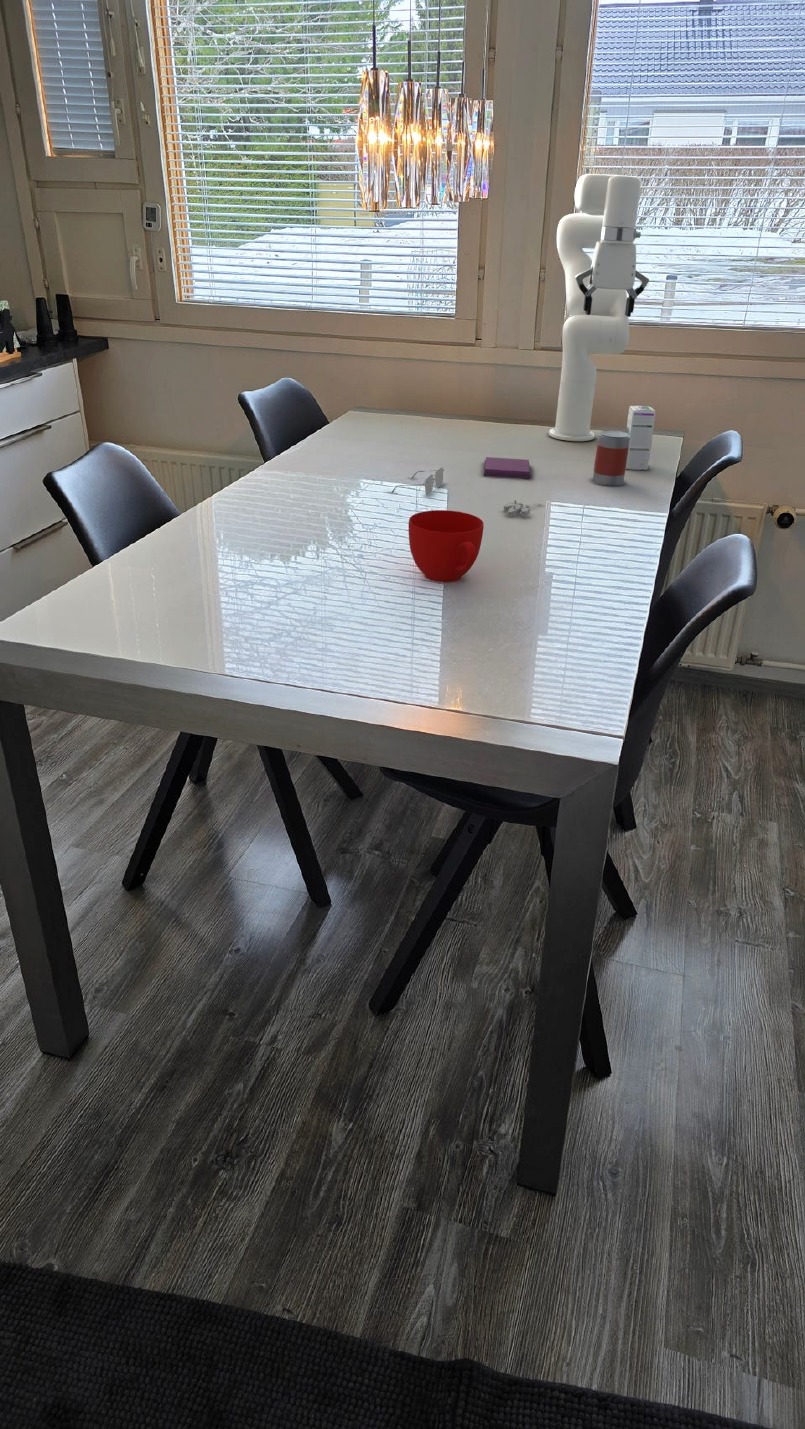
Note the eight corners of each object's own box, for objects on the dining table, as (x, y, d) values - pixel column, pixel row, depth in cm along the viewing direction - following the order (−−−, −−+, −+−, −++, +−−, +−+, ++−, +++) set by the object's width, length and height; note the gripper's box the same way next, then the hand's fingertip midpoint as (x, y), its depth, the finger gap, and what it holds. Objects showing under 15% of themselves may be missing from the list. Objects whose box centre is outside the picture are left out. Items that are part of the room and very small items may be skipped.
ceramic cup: (434, 601, 166) (438, 543, 161) (394, 567, 180) (396, 513, 175) (503, 592, 171) (508, 536, 166) (459, 560, 184) (463, 507, 180)
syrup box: (648, 470, 249) (657, 410, 242) (624, 469, 249) (633, 409, 242) (643, 464, 254) (652, 406, 247) (620, 463, 254) (629, 405, 247)
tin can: (591, 476, 241) (597, 429, 236) (621, 478, 241) (628, 431, 235) (593, 485, 235) (600, 436, 229) (625, 487, 234) (632, 438, 229)
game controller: (499, 515, 210) (500, 503, 209) (514, 502, 220) (515, 490, 218) (525, 519, 208) (526, 507, 207) (539, 506, 218) (541, 494, 217)
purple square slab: (484, 463, 248) (485, 456, 247) (528, 466, 248) (529, 459, 247) (483, 476, 238) (484, 469, 237) (529, 479, 237) (530, 472, 236)
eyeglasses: (425, 498, 219) (424, 479, 218) (391, 496, 222) (390, 478, 220) (444, 482, 231) (444, 465, 229) (412, 481, 234) (411, 463, 232)
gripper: (650, 237, 235) (639, 315, 243) (577, 234, 235) (569, 312, 242) (658, 238, 229) (647, 318, 236) (583, 235, 228) (574, 315, 236)
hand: (607, 315), depth 239 cm, fingers open, 9 cm apart
